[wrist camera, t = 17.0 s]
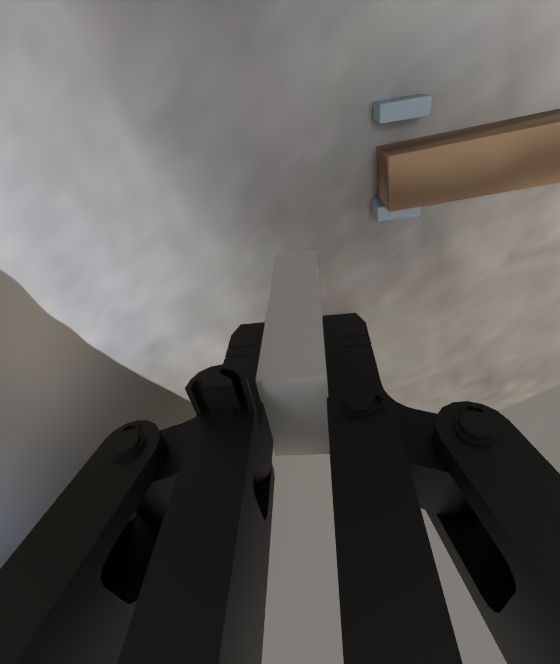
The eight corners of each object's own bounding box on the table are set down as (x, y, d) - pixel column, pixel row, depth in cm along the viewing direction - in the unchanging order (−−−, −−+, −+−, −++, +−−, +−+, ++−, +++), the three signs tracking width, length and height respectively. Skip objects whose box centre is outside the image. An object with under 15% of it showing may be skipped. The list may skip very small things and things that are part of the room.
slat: (376, 146, 28) (388, 156, 24) (684, 82, 24) (759, 81, 20) (377, 195, 30) (388, 212, 26) (659, 143, 27) (721, 153, 23)
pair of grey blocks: (373, 102, 26) (380, 104, 23) (420, 93, 25) (432, 95, 23) (371, 211, 31) (377, 221, 28) (411, 205, 30) (420, 216, 28)
